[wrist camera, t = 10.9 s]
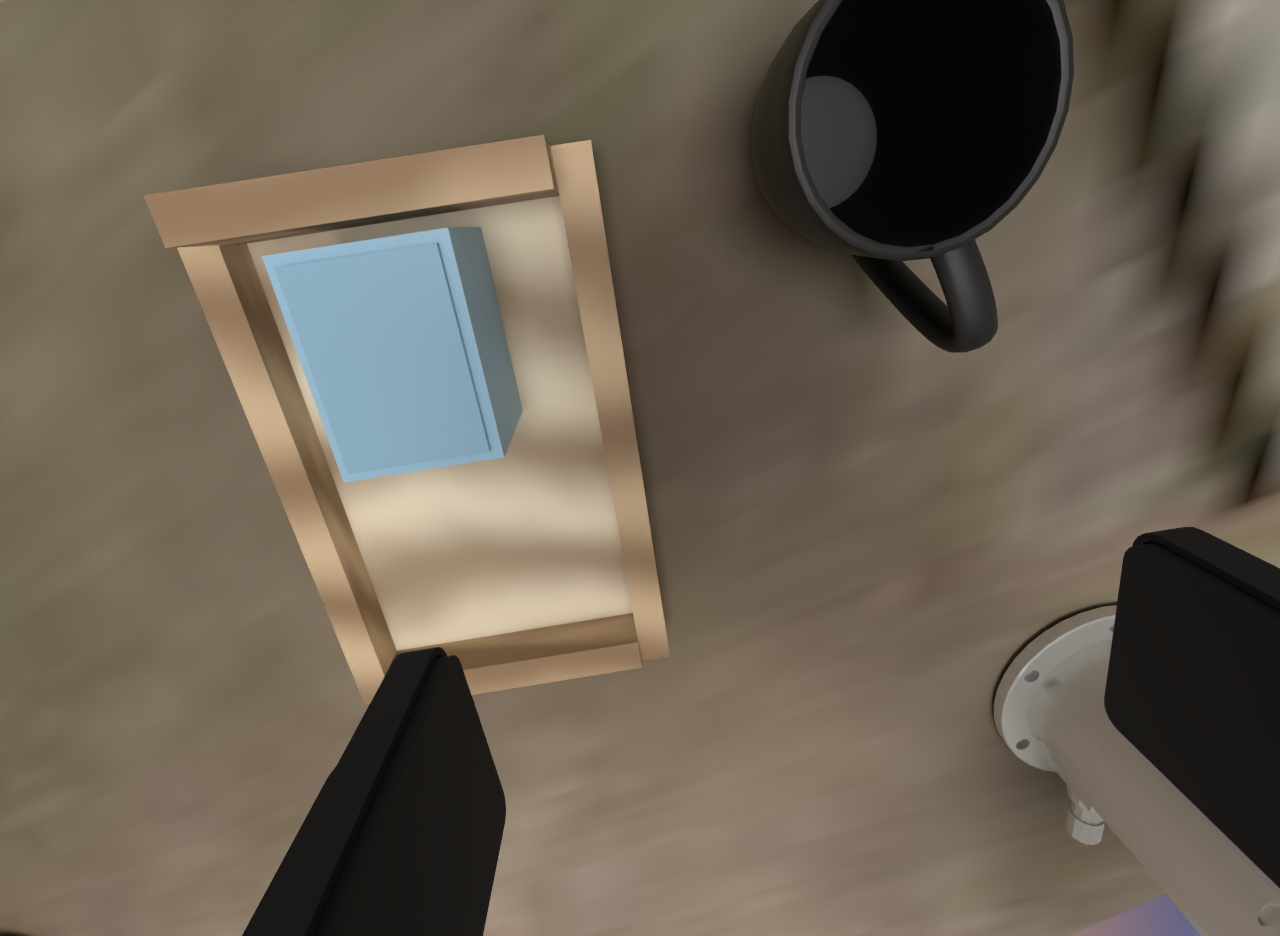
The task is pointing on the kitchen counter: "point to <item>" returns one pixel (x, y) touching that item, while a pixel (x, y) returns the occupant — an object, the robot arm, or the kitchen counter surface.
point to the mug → (914, 140)
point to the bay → (467, 493)
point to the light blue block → (401, 349)
